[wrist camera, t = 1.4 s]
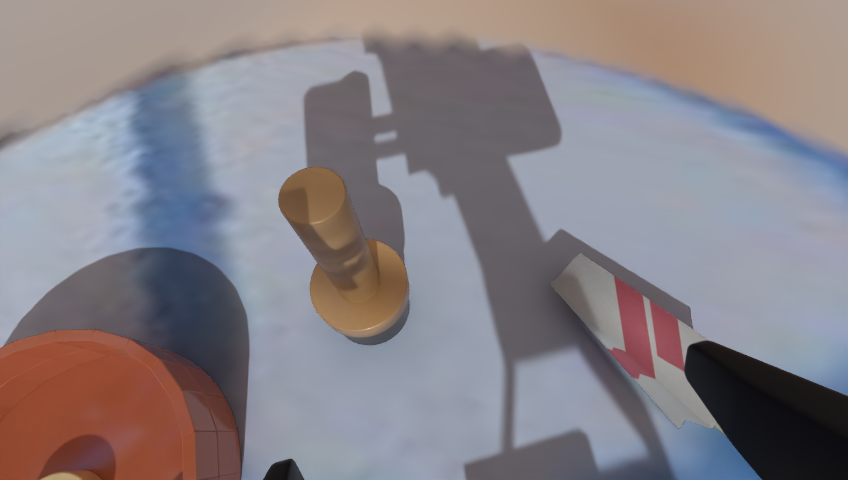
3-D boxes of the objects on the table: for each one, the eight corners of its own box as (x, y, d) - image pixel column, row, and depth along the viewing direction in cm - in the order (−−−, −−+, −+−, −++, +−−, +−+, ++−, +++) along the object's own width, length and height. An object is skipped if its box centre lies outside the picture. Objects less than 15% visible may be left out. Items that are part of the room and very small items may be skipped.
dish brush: (400, 358, 24) (361, 282, 12) (318, 337, 24) (206, 246, 13) (421, 278, 26) (406, 146, 14) (346, 260, 26) (271, 121, 15)
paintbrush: (595, 236, 23) (978, 561, 17) (578, 254, 26) (907, 542, 20) (550, 280, 22) (941, 642, 16) (537, 295, 25) (871, 612, 19)
